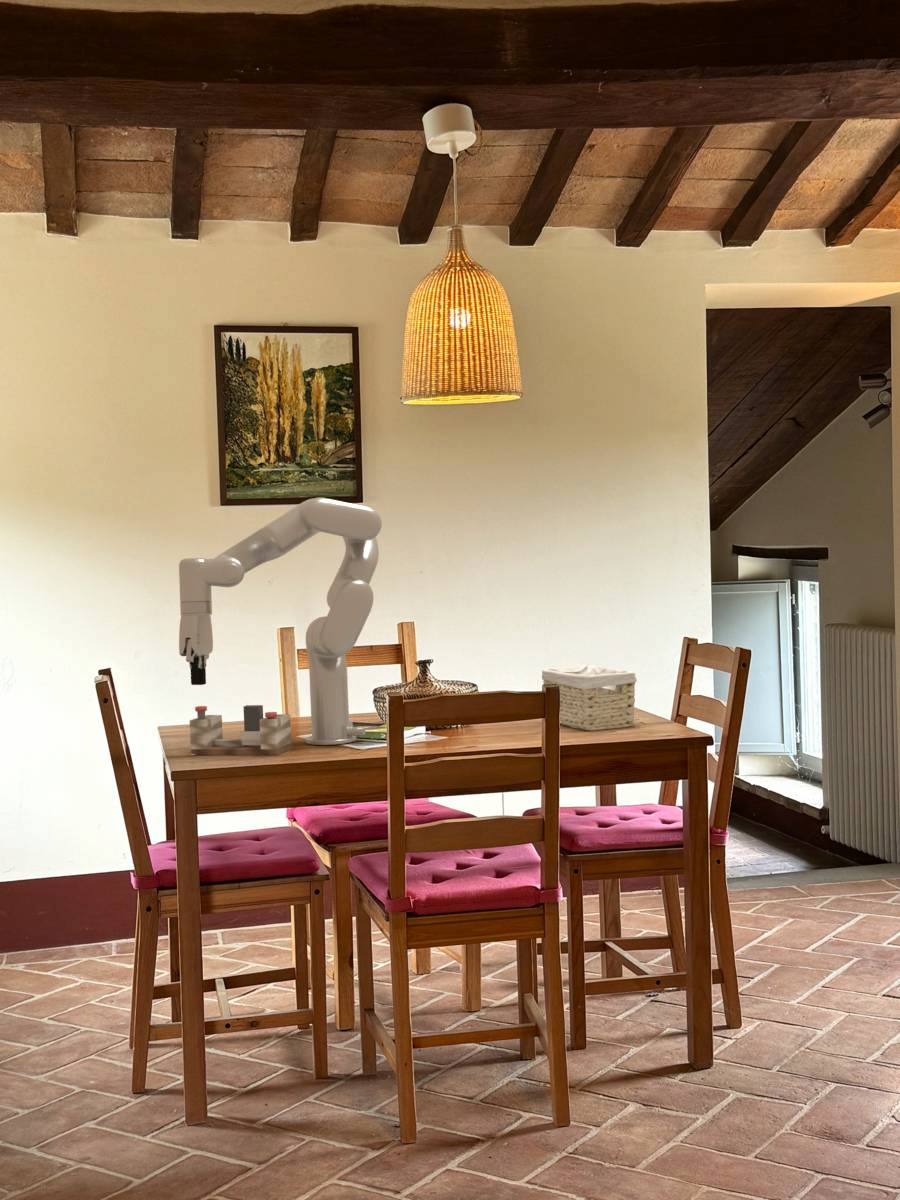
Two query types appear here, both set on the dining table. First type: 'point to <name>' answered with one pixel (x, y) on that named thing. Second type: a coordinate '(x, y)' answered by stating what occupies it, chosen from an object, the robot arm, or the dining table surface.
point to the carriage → (252, 724)
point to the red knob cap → (271, 715)
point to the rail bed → (211, 741)
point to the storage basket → (594, 696)
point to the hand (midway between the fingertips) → (198, 684)
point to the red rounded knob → (201, 712)
